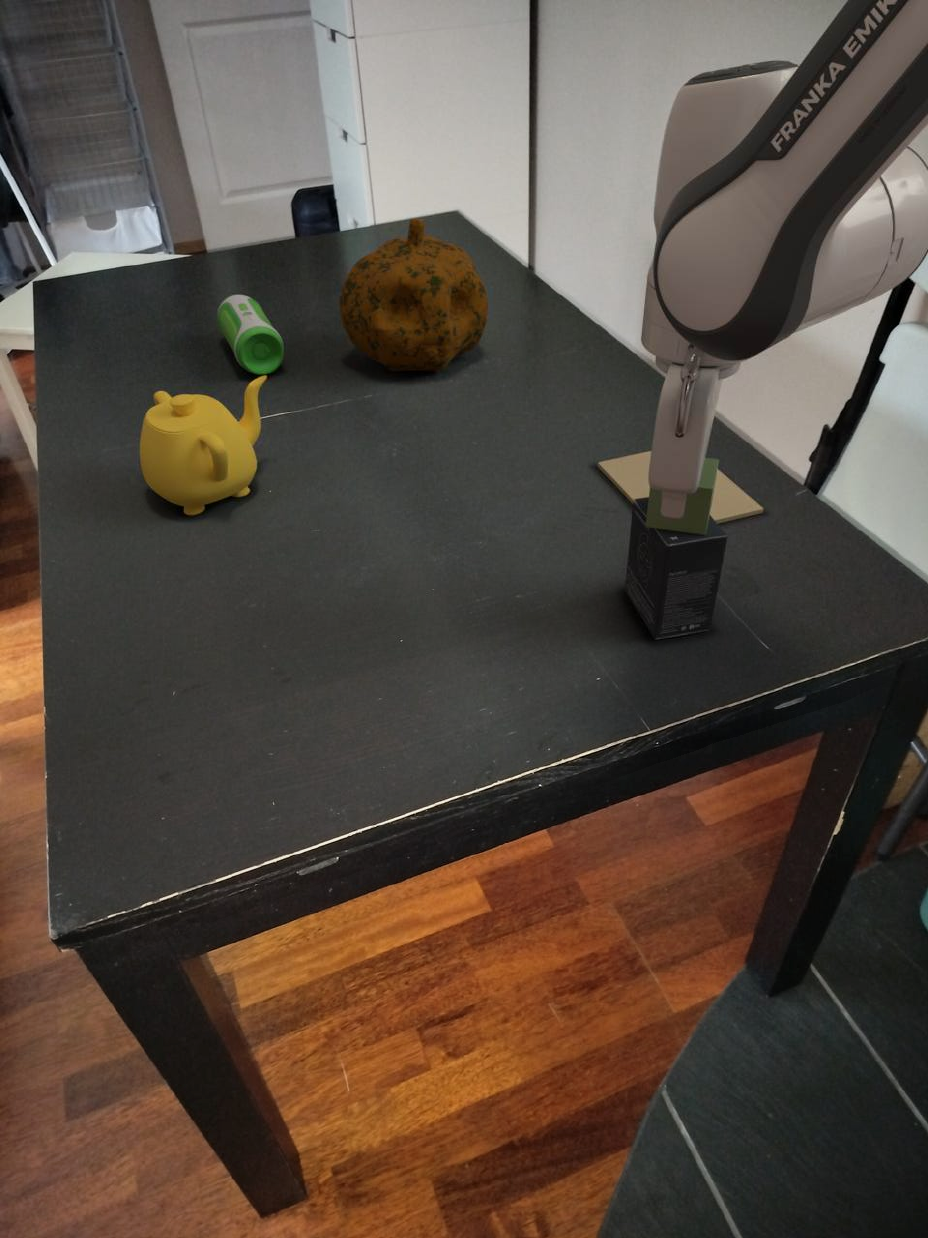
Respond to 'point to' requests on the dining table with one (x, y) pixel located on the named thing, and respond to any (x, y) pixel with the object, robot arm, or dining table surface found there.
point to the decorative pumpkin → (414, 303)
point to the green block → (687, 505)
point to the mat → (634, 485)
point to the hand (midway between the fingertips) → (679, 483)
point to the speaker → (250, 335)
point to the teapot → (199, 448)
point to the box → (673, 575)
